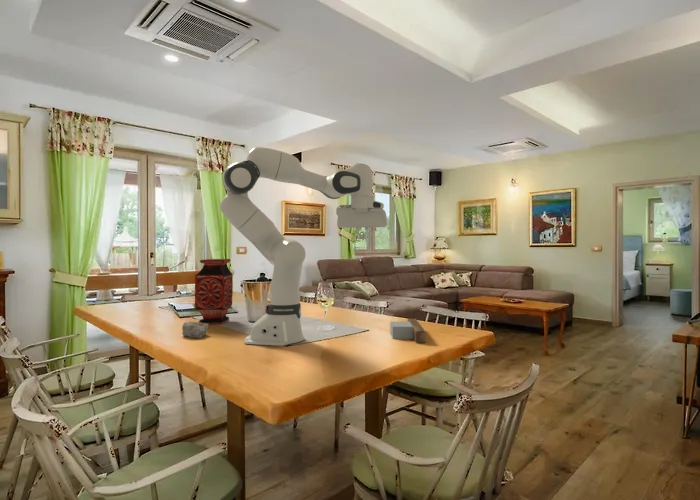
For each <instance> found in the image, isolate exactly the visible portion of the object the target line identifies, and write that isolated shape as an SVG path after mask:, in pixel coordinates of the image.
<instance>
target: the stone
mask: <svg viewBox="0 0 700 500" xmlns="http://www.w3.org/2000/svg"><path fill="white" fill-rule="evenodd" d="M181 329H182V333H181V334H182V336H183V337H188V338H192V339H194V338H195V339H201V338H202V337H204V336H205V335H206V333H207V331H208V329H209V324H206V323H201V322H199V321H197V322H196V321H186V322H183V325H182V327H181Z"/></svg>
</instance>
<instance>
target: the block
mask: <svg viewBox="0 0 700 500" xmlns="http://www.w3.org/2000/svg"><path fill="white" fill-rule="evenodd" d="M389 326H390V327H389V330H390V331H389V334H390V336H391V338H392V339H393V340H403V339H405V340H406V339H408V340H410V339H411V340H412V339H413V326H412V324H411V323H410V322H408V321H390V322H389ZM413 340H414V339H413Z"/></svg>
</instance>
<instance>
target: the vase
mask: <svg viewBox="0 0 700 500" xmlns="http://www.w3.org/2000/svg"><path fill="white" fill-rule="evenodd" d="M230 262H231V259H230V258H205V259H200V260H199V263H201V264H203V266H202V268H201V270H199V272H198V273H196V274H195V275H194V280H195V281H194V283H195V285H194V310H196V311H197V312H199V313H200V315H201V316H202V318H201V319H200V320H199V321H198V322H201V323H206V324H208V325H223V324H225V323H226V322H228V321H229V320H230V317H229V316H227V313H228V311H229V309H230V308H231V307H232V306H233V292H234V291H233V288H234V286H233V285H234V282H233V275H234V273H232V271H231V270H230V269H229V267H228V265H227V264H228V263H230Z"/></svg>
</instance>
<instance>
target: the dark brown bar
mask: <svg viewBox="0 0 700 500" xmlns="http://www.w3.org/2000/svg"><path fill="white" fill-rule="evenodd" d="M407 322H410V323H411V324H412V326H413V341H414V343H415V344H425V343H426V330H425V329H424V328H423V326H422V325H421V324H420V322H419V321H418V320H417V318H407Z"/></svg>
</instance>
